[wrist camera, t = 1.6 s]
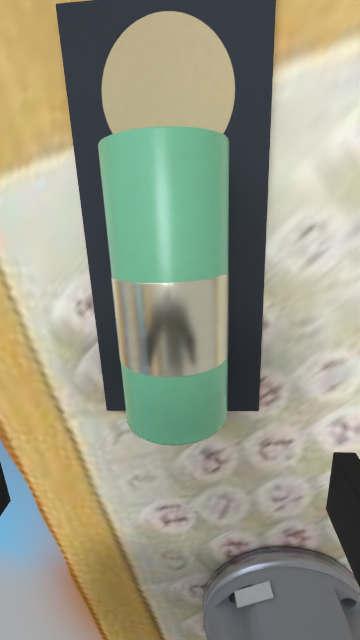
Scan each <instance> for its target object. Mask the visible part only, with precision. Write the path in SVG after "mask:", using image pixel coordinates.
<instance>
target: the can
mask: <svg viewBox="0 0 360 640" xmlns="http://www.w3.org/2000/svg"><path fill="white" fill-rule="evenodd" d="M98 151H99V160H100V169H101V179H102V188H103V198H104V207H105V217H106V226H107V236H108V245H109V255H110V264H111V274H112V276H111V281H112V290H113V300H114V309H115V318H116V328H117V337H118V347H119V356H120V361H121V369H122V378H123V388H124V397H125V406H126V416H127V422H128V425H129V427H130V428H131V429H132V431H133V432H134V433H135V434H137V435H138V436H139V437H141V438H143V439H145V440H147V441H150V442H153V443H157V444H163V445H185V444H191V443H195V442H198V441H201V440H204V439H206V438H208V437H210V436H212V435H213V434H215V433H216V432H217V431H219V430H220V428H221V427H222V426H223V425H224V423H225V421H226V419H227V385H228V341H229V270H228V248H229V139H228V137H227V136H226V135H224V134H222V133H219V132H217V131H213V130H209V129H204V128H197V127H185V126H159V127H145V128H137V129H131V130H126V131H122V132H118V133H115V134H112V135H109V136H107V137H105V138H103V139H102V140H101V141H100V142H99V144H98Z"/></svg>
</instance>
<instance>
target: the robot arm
mask: <svg viewBox="0 0 360 640" xmlns="http://www.w3.org/2000/svg"><path fill="white" fill-rule="evenodd" d="M10 501H11V500H10V497H9V493H8V489H7V485H6V482H5V478H4V474H3V470H2V467H1V463H0V516H1V514H2V513H3V511H4V510H5V508H6V507H7V505H8V504H9V502H10ZM326 510H327V513H328V515H329V517H330V520H331V522H332V524H333V527H334V529H335V531H336V534H337V536H338V538H339V541H340V543H341V545H342V548H343V550H344V552H345V555H346V557H347V559H348V562H349V564H350V566H351V569H352V571H353V573H354V576H355V578H356V579H355V578H354V576H353V575H352V574H351V573H350V572H349V571H348V570H347V569H346V568H345V567H343V566H342V565H341V564H339V563H338V562H336V561H335V560H333V559H331V558H329V557H327V556H324V555H322V554H319V553H316V552H313V551H309V550H304V549H298V548H288V547H276V548H266V549H260V550H255V551H251V552H248V553H245V554H242V555H240V556H238V557H236V558H234V559H232V560H230V561H228V562H227V563H225V564H224V565H223V566H221V567H220V568H219V569H218V570H217V571H216V572H215V573H214V574H213V575H212V577H211V578H210V580H209V581H208V583H207V585H206V588H205V592H204V627H205V631H206V636H207V640H360V459H359V458H358V456H357V455H356V453H339V452H334V455H333V462H332V469H331V476H330V484H329V491H328V498H327V506H326ZM356 580H357V581H356Z"/></svg>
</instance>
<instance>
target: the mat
mask: <svg viewBox="0 0 360 640" xmlns="http://www.w3.org/2000/svg"><path fill="white" fill-rule="evenodd" d="M275 6H276V0H92V1H82V2H71V3H61V4H56V10H57V18H58V26H59V33H60V41H61V49H62V57H63V65H64V73H65V81H66V89H67V97H68V105H69V113H70V121H71V129H72V137H73V145H74V153H75V160H76V168H77V176H78V184H79V192H80V200H81V208H82V216H83V224H84V232H85V240H86V248H87V256H88V264H89V272H90V280H91V287H92V295H93V303H94V311H95V319H96V327H97V335H98V343H99V351H100V359H101V367H102V375H103V383H104V391H105V399H106V407H107V411H126V406H125V397H124V388H123V378H122V369H121V361H120V356H119V347H118V337H117V328H116V318H115V309H114V300H113V290H112V281H111V276H112V274H111V264H110V255H109V245H108V236H107V226H106V217H105V207H104V198H103V188H102V179H101V169H100V160H99V151H98V144H99V142H100V141H101V140H102V139H103V138H105V137H107V136H109V135H112V134H115V133H118V132H122V131H126V130H131V129H137V128H145V127H159V126H185V127H197V128H204V129H209V130H213V131H217V132H219V133H222V134H224V135H226V136H227V137H228V139H229V248H228V270H229V341H228V385H227V411H259V388H260V365H261V341H262V317H263V293H264V269H265V245H266V221H267V197H268V173H269V149H270V125H271V101H272V77H273V53H274V29H275Z"/></svg>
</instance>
